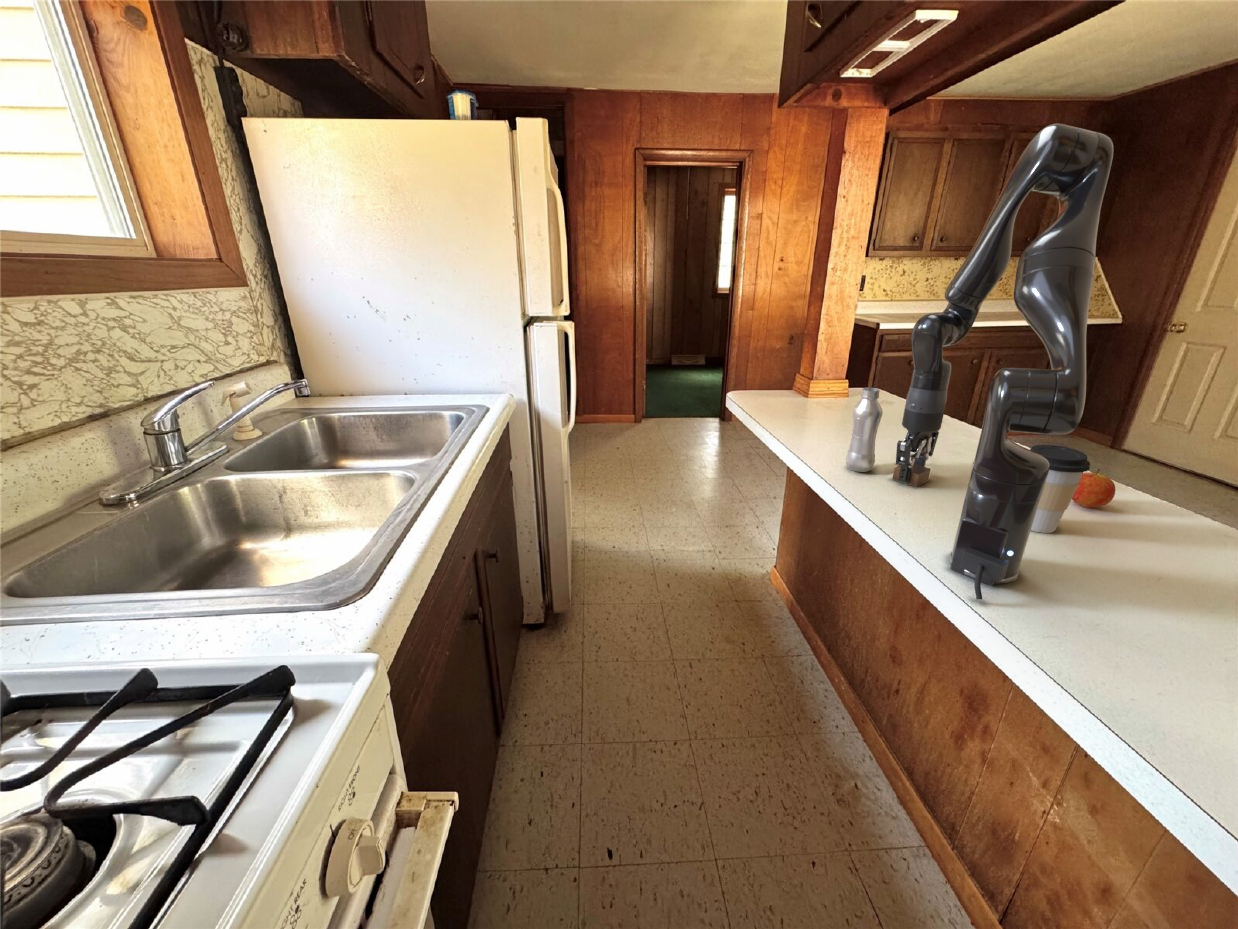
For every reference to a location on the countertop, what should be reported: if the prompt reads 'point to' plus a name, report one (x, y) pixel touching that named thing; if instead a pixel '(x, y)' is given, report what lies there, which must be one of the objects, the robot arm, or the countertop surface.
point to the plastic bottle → (864, 431)
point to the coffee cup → (1058, 484)
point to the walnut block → (914, 475)
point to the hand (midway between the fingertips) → (910, 477)
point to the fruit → (1094, 490)
